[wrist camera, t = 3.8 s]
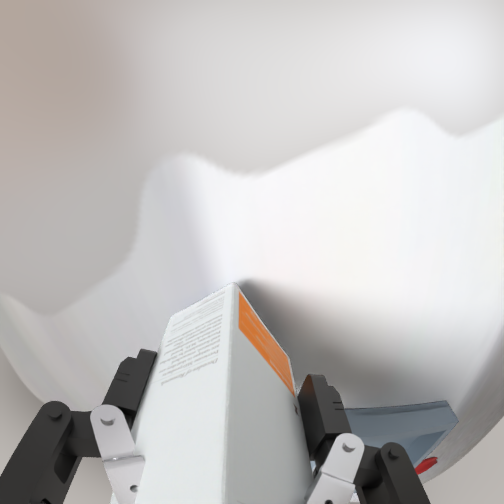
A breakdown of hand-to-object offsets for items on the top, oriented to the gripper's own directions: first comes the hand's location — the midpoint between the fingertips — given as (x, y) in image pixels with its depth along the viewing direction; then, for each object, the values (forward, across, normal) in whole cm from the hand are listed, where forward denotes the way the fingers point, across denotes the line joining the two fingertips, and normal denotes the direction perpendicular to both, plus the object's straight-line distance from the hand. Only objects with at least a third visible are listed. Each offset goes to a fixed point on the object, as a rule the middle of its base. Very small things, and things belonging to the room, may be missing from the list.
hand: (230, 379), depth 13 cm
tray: (+5, -16, +13) cm, 21 cm away
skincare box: (+4, 0, 0) cm, 4 cm away
